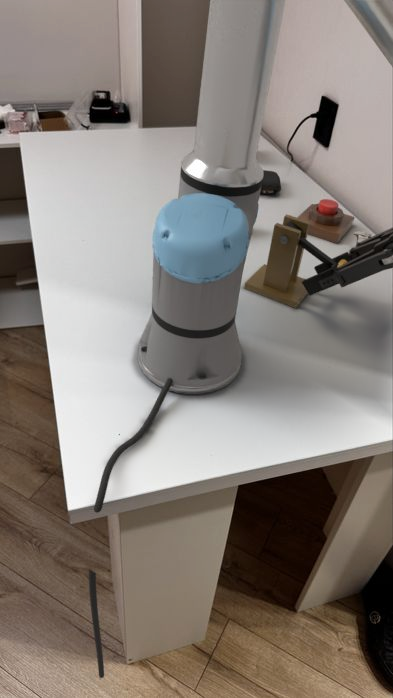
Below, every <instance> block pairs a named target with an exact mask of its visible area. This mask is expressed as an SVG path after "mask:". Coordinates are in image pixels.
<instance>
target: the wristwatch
mask: <svg viewBox="0 0 393 698" xmlns="http://www.w3.org/2000/svg"><path fill="white" fill-rule="evenodd" d="M353 235H354V236H356V243H355V245H354V246H355V247H356V245H357V243H359V242H362V241H364V240H366V239H368V238H371V237H373V236H372V234H370V233H369V232H365V231H359V230H358V231H355V232H353ZM355 247H354V248H355Z"/></svg>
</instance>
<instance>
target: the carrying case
mask: <svg viewBox="0 0 393 698" xmlns="http://www.w3.org/2000/svg"><path fill="white" fill-rule="evenodd" d="M263 172H264V174H263V180H262V186H261V191H260V195H273V196H275V195H277V194H278V193H279V192H281V190H282V183H281V177H280V176H279V174H278V173H277V172H276V171H273V170H265V169H263Z"/></svg>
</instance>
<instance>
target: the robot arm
mask: <svg viewBox="0 0 393 698" xmlns="http://www.w3.org/2000/svg"><path fill="white" fill-rule="evenodd" d="M343 1H344V2H345V3H346V5H347V7H348V8H349V9H350V10H351V13H353V15H354V16H355V18H356V19H357V21H359V23H360V25H361V26H362V27H363V29H364V30H365V31H366V33H367V34H368V36H369V37H370V38H371V40H372V42H374V44H375V45H376V47H377V48H378V49H379V51H380V52H381V54H382V55H383V56H384V58H385V59H386V60H387V62H388V64H389V65H390V66H391V67H392V68H393V0H343ZM285 5H286V0H209V10H208V18H207V28H206V37H205V44H204V53H203V64H202V70H201V71H202V73H201V80H200V90H199V99H198V108H197V118H196V127H195V136H194V145H193V149H192V151H190V153H188V154H187V155H186V156H183V158H182V160H181V164H180V174H179V183H178V192H177V198H174V199H171V200H170V201H169V202H167V203H166V204H164V206H163V207H161V209H160V211H158V214H157V216H156V218H155V223H154V229H153V232H152V251H153V252H152V253H153V257H152V288H151V291H152V292H151V314H150V316H149V318H148V320H147V323H146V325H145V328H144V329H143V331H142V334H141V337H140V338H139V342H138V347H137V362H138V366H139V368H140V370H141V372H142V373H143V374H144V376H145V377H146V378H147V379H148V380H149V381H151V382H152V383H153V384H155V385H157V386H158V387H159V388H162V389H161V390H160V392H159V395H158V396H157V398H156V400H155V402H154V404H153V406H152V408H151V411H150V412H149V414H148V416H147V417H146V419H145V421H144V423H143V424H142V426H141V427H140V428H139V429H138V431H137V432H136V433H135V434H134V435H133V436H132V437H130V439H128V440H126V441H124V443H121V445H119V446H118V447H117V448H116V449H115V450H114V451H113V453H112V454H111V456H110V457H109V459H108V460H107V462H106V464H105V466H104V469H103V471H102V475H101V479H100V483H99V487H98V492H97V494H96V498H95V502H94V507H93V511H94V513H96V514H97V513H100V512H101V511H102V509H103V505H104V501H105V499H106V495H107V490H108V486H109V481H110V478H111V474H112V471H113V469H114V466H115V464H116V463H117V461H118V459H119V458H120V457H121V455H122V454H123V453H125V452H126V451H127V450H128V449H130V448H132V446H134V445H136V444H137V443H138V442H139V441H140V440H141V439H142V438H143V437H144V436H145V434H146V433H147V432H148V430H149V429H150V427H151V425H152V424H153V422H154V421H155V418H156V417H157V415H158V414H159V411H160V409H161V407H162V404H163V402H164V400H165V399H166V396H167V395H168V392H169V391H170V392H173V393H177V394H183V395H184V394H185V395H204V394H209V393H213V392H216V391H218V390H221V389H224V388H225V387H226V386H229V385H230V383H232V382H233V381H234V380H235V378H236V377H237V376H238V374H239V372H240V369H241V364H242V357H243V356H242V355H243V354H242V346H241V342H240V338H239V333H238V328H237V324H236V316H237V309H238V304H239V297H240V291H241V286H242V281H243V274H244V270H245V269H244V268H245V264H246V260H247V254H248V251H249V247H250V242H251V238H252V233H253V230H254V226H255V223H256V222H257V218H258V214H259V207H260V206H259V201H260V196H261V194H260V191H261V186H262V180H263V174H264V172H263V170H264V169H263V167H262V166H261V165H260V163H259V162H258V160H257V159H256V158H257V153H258V150H259V143H260V139H261V132H262V129H263V128H262V127H263V122H264V117H265V110H266V107H267V100H268V95H269V90H270V84H271V79H272V73H273V69H274V64H275V59H276V52H277V48H278V42H279V37H280V32H281V26H282V20H283V16H284V10H285V7H286V6H285ZM257 149H258V150H257ZM255 221H256V222H255ZM355 246H356V247H352V248H351V249H349V251H346V252H344V253H341V254H339V255H337V256H335V257H333V258H331V259H333V260H334V261H335V262H337V263H339V262H340V260H342V259H344V260H346V261H347V263H346V264H344V265H342V266H340V267H337V266H336V264H334V265H332V266H331V267H332V268H329V267H328V266H326V265H325V264H324V263H322V262H321V263H319V264H317V265H315V266H314V268H313V269H314V270H315V272H316V274H315V275H312V276H310V277H308V278H304V279H305V280H303V281H302V284H303V286H304V287H305V289H306V291H307V292H308V294H307V295H308V296H313V295H315V294H318V293H320V292H323V291H325V290H328V289H330V288H333V287H335V286H338V285H339V286H340V287H341V288H345V287H347V286H349V285H351V284H354V283H357V282H359V281H361V280H364V279H366V278H369V277H371V276H373V275H376V274H379V273H381V272H383V271H387V270H390V269H393V226H392V227H390V228H389V229H386V230H384V231H382V232H380V233H377V234H375V235H373V236H372V237H371V238H368V239H366V240H364V241H362V242H359V243H357V245H356V244H355ZM88 589H89V603H90V604H89V605H90V612H91V621H92V628H93V629H92V630H93V636H94V643H95V651H96V658H97V670H98V677H99V679H103V678H104V677H105V667H104V655H103V654H104V653H103V646H102V638H101V637H102V635H101V629H100V618H99V609H98V597H97V596H98V595H97V573H96V572H95V571H93V569H90V568H88Z"/></svg>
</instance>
